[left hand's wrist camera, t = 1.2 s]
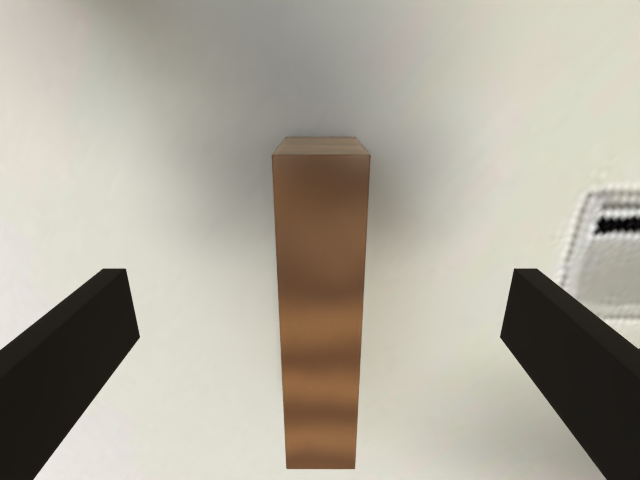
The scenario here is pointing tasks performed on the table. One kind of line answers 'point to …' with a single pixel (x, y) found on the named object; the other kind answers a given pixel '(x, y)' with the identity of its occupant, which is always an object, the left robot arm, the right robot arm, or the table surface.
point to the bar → (320, 294)
